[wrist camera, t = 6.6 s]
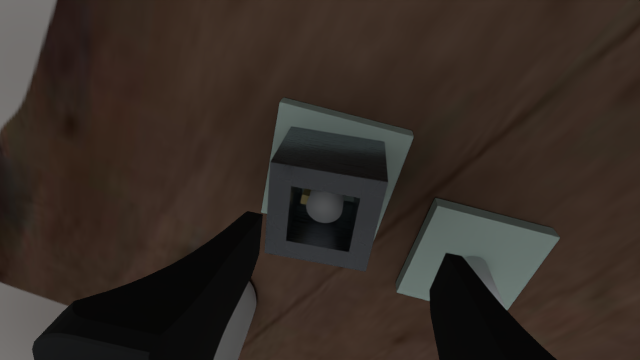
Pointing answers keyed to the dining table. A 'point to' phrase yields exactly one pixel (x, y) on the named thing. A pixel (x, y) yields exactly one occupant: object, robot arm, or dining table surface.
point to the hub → (333, 177)
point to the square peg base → (323, 119)
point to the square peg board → (476, 249)
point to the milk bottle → (237, 326)
